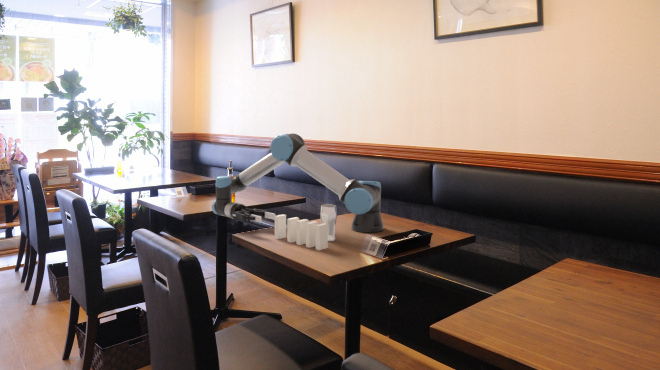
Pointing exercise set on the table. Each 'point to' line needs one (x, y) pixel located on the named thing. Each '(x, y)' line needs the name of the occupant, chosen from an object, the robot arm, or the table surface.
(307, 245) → the tile
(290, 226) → the tile
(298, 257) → the table surface
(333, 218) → the silver metal tumbler
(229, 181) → the robot arm
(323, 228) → the tile
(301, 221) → the tile
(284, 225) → the tile
